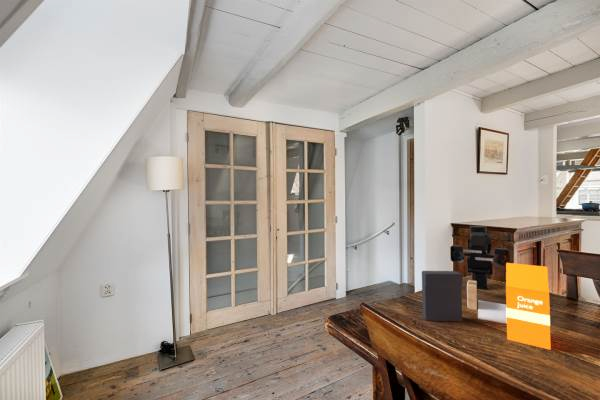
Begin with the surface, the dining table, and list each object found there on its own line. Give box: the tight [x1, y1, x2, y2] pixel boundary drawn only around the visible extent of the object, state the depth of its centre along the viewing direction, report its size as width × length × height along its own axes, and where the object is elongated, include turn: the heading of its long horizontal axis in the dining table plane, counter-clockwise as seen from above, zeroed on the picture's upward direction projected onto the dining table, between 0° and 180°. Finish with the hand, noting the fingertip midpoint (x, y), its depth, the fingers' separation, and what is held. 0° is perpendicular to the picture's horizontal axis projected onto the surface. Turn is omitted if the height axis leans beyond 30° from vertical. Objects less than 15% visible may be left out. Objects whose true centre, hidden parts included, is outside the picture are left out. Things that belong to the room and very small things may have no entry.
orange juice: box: [505, 262, 552, 351], centre depth 74 cm, size 8×9×20 cm
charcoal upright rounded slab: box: [421, 270, 463, 322], centre depth 88 cm, size 11×4×15 cm, turn 84°
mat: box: [477, 299, 507, 325], centre depth 90 cm, size 18×16×1 cm
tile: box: [466, 279, 478, 311], centre depth 98 cm, size 8×3×8 cm, turn 147°
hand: (478, 259), depth 98 cm, fingers open, 9 cm apart
